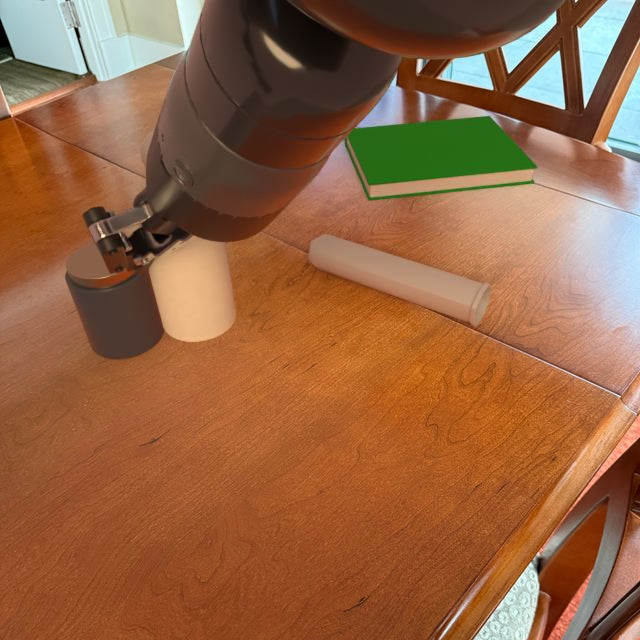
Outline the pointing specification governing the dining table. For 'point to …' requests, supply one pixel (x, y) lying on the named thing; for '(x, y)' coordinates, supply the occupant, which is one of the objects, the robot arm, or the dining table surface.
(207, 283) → the cream bottle
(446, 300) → the tube
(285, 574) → the dining table surface
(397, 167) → the book
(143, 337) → the slate jar
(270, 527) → the dining table surface
